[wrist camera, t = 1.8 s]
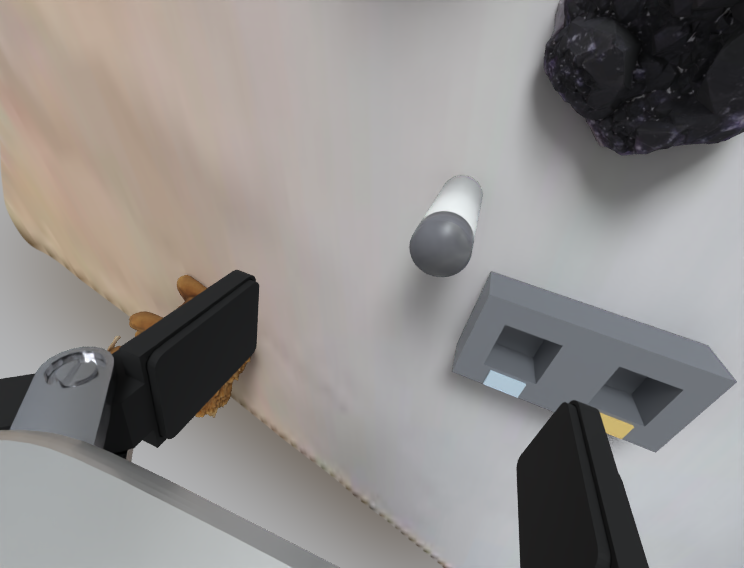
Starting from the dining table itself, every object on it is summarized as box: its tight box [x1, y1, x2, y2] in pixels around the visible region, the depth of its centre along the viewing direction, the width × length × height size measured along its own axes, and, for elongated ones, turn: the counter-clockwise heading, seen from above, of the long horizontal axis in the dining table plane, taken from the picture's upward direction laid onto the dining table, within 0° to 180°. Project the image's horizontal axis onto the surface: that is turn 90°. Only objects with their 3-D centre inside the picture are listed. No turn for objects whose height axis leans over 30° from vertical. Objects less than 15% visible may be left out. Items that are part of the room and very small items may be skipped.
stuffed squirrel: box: [107, 275, 251, 418], centre depth 39 cm, size 10×14×13 cm
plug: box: [410, 175, 483, 277], centre depth 23 cm, size 3×3×11 cm
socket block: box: [452, 271, 737, 452], centre depth 29 cm, size 17×8×4 cm, turn 76°
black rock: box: [544, 0, 744, 156], centre depth 16 cm, size 13×14×10 cm
